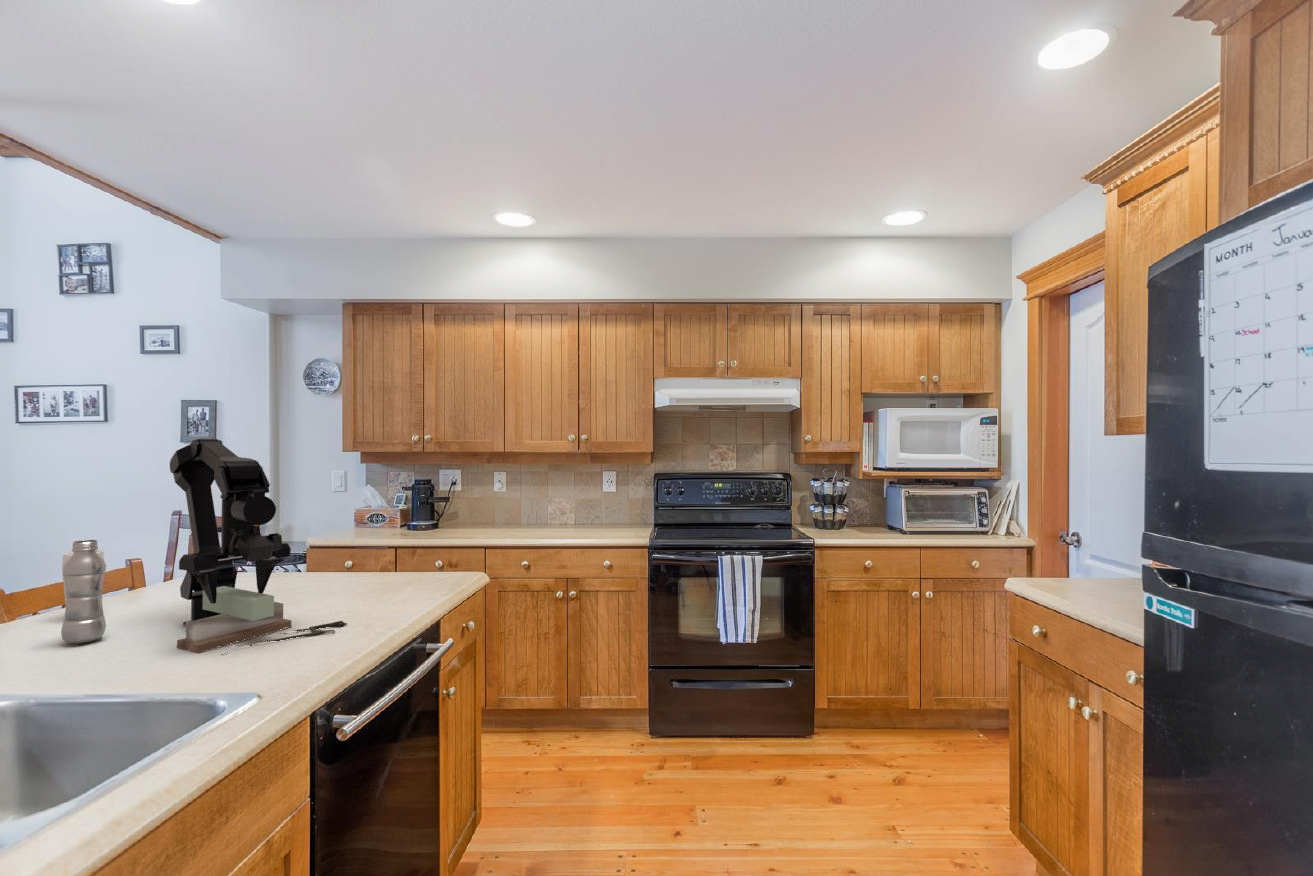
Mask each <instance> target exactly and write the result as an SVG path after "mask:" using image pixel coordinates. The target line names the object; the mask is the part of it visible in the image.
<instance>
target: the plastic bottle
mask: <svg viewBox="0 0 1313 876" xmlns="http://www.w3.org/2000/svg"><path fill="white" fill-rule="evenodd" d="M96 550H99V547H98V540H97V539H85V540H76V541H73V542H72V549H71V552H74V554H73V555H72V557H71V558H70V559H69V560H68V561H67V562H66V564H65V565H64V567H63V570H62V572H63V573H62V580H63V579H64V584H65V593H66V603H65V608H64V609H65V610H64V611H65V612H64V619H63V623H62V625H61V630H60V635H61V638H62V640H63V642H65V643H66V644H86V642H87V643H90V642H93V641H96V640H99V639H102V637H103V636H104V634H105V632H106V628H107V624H106V617H105V616H104V609H103V608H104V607H103V594H102V593H103V589H104V588H103V587H104V582H105V581H104V580H105V576H106V571H107V564H106V562H105V559H104V560H103V559H102V558H101V557H100V556H99V555H98V554H97V553H96ZM64 584H63V585H64ZM65 593H64V594H65Z"/></svg>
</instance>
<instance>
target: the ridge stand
mask: <svg viewBox="0 0 1313 876" xmlns="http://www.w3.org/2000/svg"><path fill="white" fill-rule="evenodd" d="M189 621H190V622H186V621H185V622H186V625H185V637H183V638H179V639H177V640H176V648H177V647H178V648H177V649H179V648H181V649H180V650H183V649H184V651H187V650H190V651H189V652H191V651H194V652H193V653H195V652H196V654H200V653H199V652H201V653H203V652H202V651H204V652H206V651H205V650H208V651H210V649H211V650H213V649H212V648H215V649H217V648H216V647H218V646H222V647H225V645H226V646H228V645H227V644H229V645H231V644H230V643H233V642H236V641H240V642H243V641H242V640H244V639H247V640H249V639H248V638H251V637H254V636H258V637H261V636H260V635H262V636H264V635H263V634H265V635H267V634H266V633H269V632H272V633H275V632H274V631H276V632H278V631H277V630H280V629H283V628H285V627H290V628H292V619H288V618H284V603H283V602H278V601H274V616H271V617H267V618H263V619H258V620H254V621H251V620H247V619H243V618H238V617H234V616H230V615H225V614H220V615H216V616H212V617H208V618H203V619H199V620H195V621H191V620H189ZM283 630H284V629H283ZM280 631H281V630H280ZM269 634H270V633H269ZM254 638H255V637H254ZM251 639H252V638H251ZM244 641H245V640H244ZM233 644H234V643H233Z"/></svg>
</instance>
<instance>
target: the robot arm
mask: <svg viewBox="0 0 1313 876" xmlns="http://www.w3.org/2000/svg"><path fill="white" fill-rule="evenodd" d="M169 471H170V474H173V478H174V479H173V480H174V483H175V484H176V485H177V486H178V487H179V488H180V489H181V490H182V491H183V492H184V493H185V497H186V503H187V504H186V505H187V511H188V518H189V525H190V531H191V538H192V546H193V553H186V554H183V555H182V556H181V558H180V559H179V560H178V562H179V563H178V570H179V571H180V570H181V571H186V574H184V575H185V576H183V580H182V583H181V585H180V587H179V591H180V597H181V598H182V599H185V600H187V601H190V600H191V601H190V603H191V604H190V608H191V609H190V620H186V621H183V622H182V625H183V626H186V622H190V621H195V620H199V619H203V618H208V617H212V616H216V615H220V614H221V613H217V612H212V611H208V610H204V609H203V590H204V592H205V594H206V595H207V597H208V599H209V601H210V603H212V604H215V603H216V598H217V590H216V587H221V586H227V587H232V588H236V582H237V575H238V571H237V569H236V567H235V565H234V563H233V562H234V561H236V562H237V561H243V560H245V561H247V562H250V563H253V562H254V563H255V565H254V566H255V576H256V577H255V578H256V586H257V587H256V588H257V593H263V594H264V592H265V590H266V587H267V585H268V582H269V579H270V578H271V575H272V573H273V571H274V570H275V567H276V566H277V565H278V564H280V563H281V562H284V561H285V559H286V558H287V557H291V556H292V555H291V554H292V553H291V552H292V550H291V549H292V547H291V546H290V544H289V543H288V542H283V537H282V535H281V534H280V533H278V532H275V533H269V534H268V535H262V534H261V528H260V526H262V525H266V524H267V523H269V522H271V521H272V520H273V519H274V517H275V515H276V512H277V507H276V504H275V502H274V501H273V500H272V499H271V498H270V497H268V496H266V494H267V493H270V486H271V484H270V482H269V479H268V478H267V475H266V473H265V471H264V468H263V466H262V465H261V464H260V463H259V461H258V460H256V459H253V458H249V457H242V456H241V457H240V456H238V455H236V454H235V453H234V452H233V451H232V450H230V449H229V448H228V447H227V446H225V445H224V444H223V441H222V440H221V439H218V438H196V439H193V440H192V441H191V443H190V444H188V445H186V446H183V447H182V448H179V449H178V450H176V451H175V452H174V453H173V455H172V457H171V458H170V461H169ZM214 481H215V484H216V485H217V487H218V490H219V491H220V493H221V494H220V497H219V498H220V499H221V525H220V526H218V525H217V524H218V523H217V517H216V511H215V504H214V500H213V499H214V498H213V497H214V496H213V492H212V491H213V490H212V485H213V483H214ZM219 533H221V534H220V535H221V538H220V537H219ZM220 542H221V543H220Z"/></svg>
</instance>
